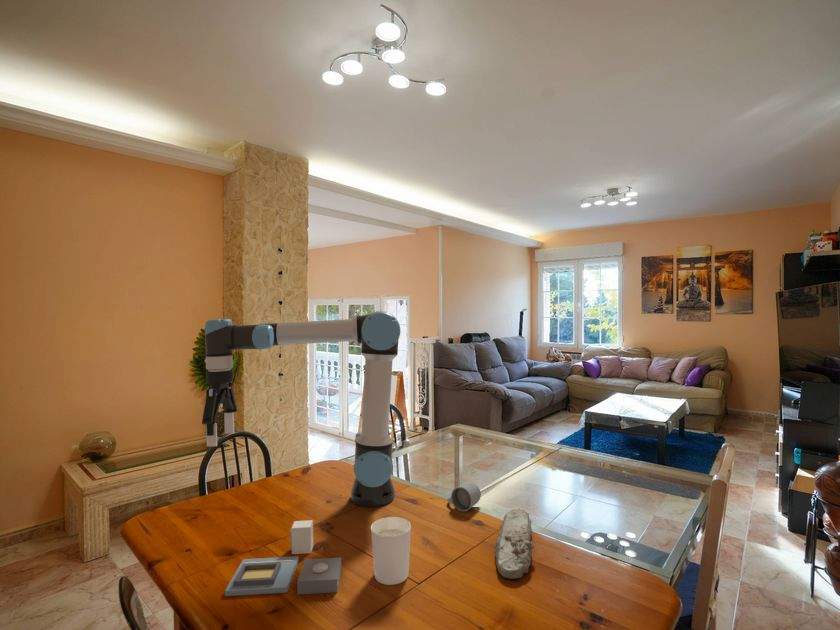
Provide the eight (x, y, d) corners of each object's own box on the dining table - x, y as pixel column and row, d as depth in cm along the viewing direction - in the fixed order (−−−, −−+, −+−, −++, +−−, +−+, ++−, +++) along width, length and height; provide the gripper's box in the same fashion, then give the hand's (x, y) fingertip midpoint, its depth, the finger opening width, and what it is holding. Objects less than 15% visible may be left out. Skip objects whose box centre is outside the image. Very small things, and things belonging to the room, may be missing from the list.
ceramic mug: (482, 504, 146) (482, 481, 146) (471, 514, 139) (471, 489, 139) (454, 498, 152) (453, 476, 152) (442, 507, 145) (442, 483, 145)
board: (298, 560, 114) (298, 551, 114) (287, 592, 101) (287, 582, 101) (243, 563, 113) (243, 554, 113) (224, 596, 100) (224, 585, 100)
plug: (313, 545, 122) (312, 520, 122) (310, 553, 118) (310, 527, 118) (292, 546, 121) (291, 521, 121) (288, 554, 117) (288, 528, 117)
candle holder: (417, 567, 110) (416, 519, 110) (402, 590, 101) (402, 538, 101) (381, 560, 114) (380, 514, 114) (364, 583, 104) (363, 532, 104)
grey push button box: (341, 569, 110) (341, 555, 110) (337, 592, 101) (337, 577, 101) (304, 571, 109) (304, 557, 109) (297, 594, 100) (297, 579, 100)
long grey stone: (535, 523, 136) (502, 521, 139) (534, 505, 137) (501, 504, 139) (534, 584, 103) (491, 580, 105) (532, 561, 103) (489, 557, 105)
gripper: (222, 365, 146) (224, 429, 146) (187, 375, 121) (189, 452, 121) (245, 364, 147) (247, 428, 147) (215, 375, 122) (217, 451, 122)
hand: (221, 439), depth 134 cm, fingers open, 13 cm apart
